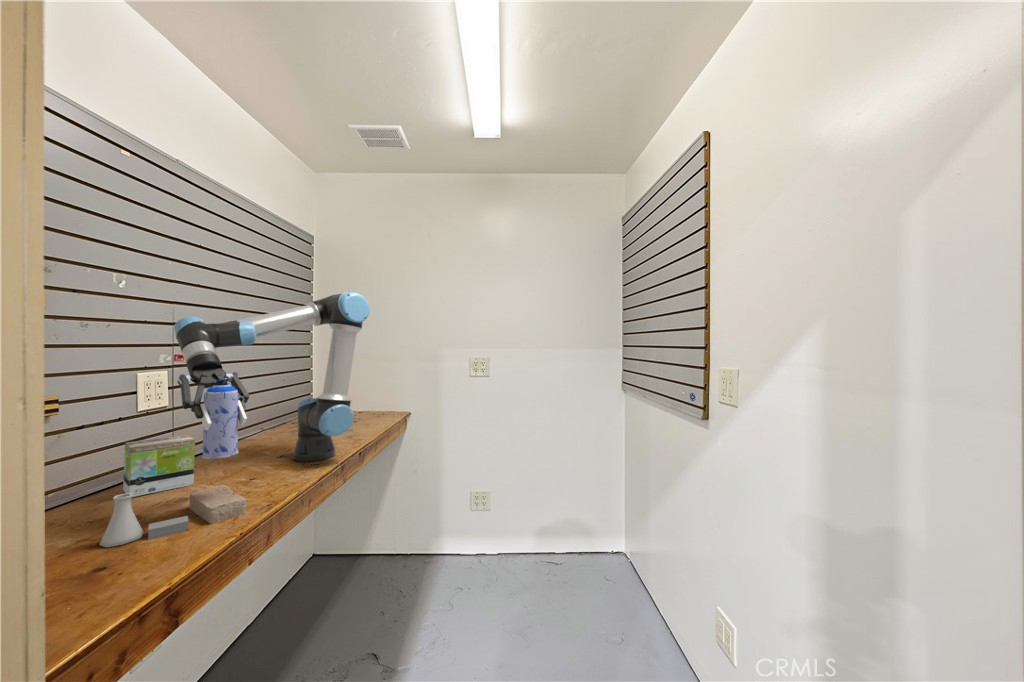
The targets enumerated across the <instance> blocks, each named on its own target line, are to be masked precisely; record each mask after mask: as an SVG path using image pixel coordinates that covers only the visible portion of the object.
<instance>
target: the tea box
mask: <svg viewBox="0 0 1024 682" xmlns="http://www.w3.org/2000/svg"><path fill="white" fill-rule="evenodd" d="M195 447H196V440H195V438H193V437H191V436H189V435H187V434H183V435H177V436H168V437H167V436H166V437H159V438H152V439H143V440H136V441H127V442H125V443H124V458H123V462H124V463H123V484H122V485H123V487H122V489H123V492H124V494H126V493H132V494H133V495H132V497H131V499H132V498H135V497H139V496H143V495H144V496H145V495H148V494H154V493H159V492H164V491H168V490H174V489H180V488H185V486H186V487H190V486H189V485H191V486H193V485H194V480H195V479H194V478H195V455H196V454H195V453H196V452H195V449H196V448H195Z"/></svg>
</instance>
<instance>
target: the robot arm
mask: <svg viewBox="0 0 1024 682" xmlns="http://www.w3.org/2000/svg"><path fill="white" fill-rule="evenodd" d="M370 311H371V309H370V304H369V302H368V300H367V299H366V298H365V296H364V295H362V294H360V293H358V292H353V291H352V292H350V291H347V292H343V293H337V294H331V295H329V296H327V297H323V298H321V299H318V300H313V301H309V302H308V303H307V304H306V305H302V306H297V307H293V308H288V309H283V310H279V311H274V312H268V313H264V314H260V315H255V316H249V317H244V318H240V319H235V320H231V321H226V322H220V323H213V322H212V323H211V322H210V323H209V322H208V323H206V322H205V321H204V320H203V319H202V318H201V317H198V316H194V315H193V316H185V317H182V318H180V319H178V321H176V323H175V324H174V327H173V328H174V329H173V330H174V333H175V338H176V341H177V343H178V345H179V348H180V351H181V353H182V354H181V355H182V356H183V360H184V363H185V365H186V369H187V371H188V374H189V375H185V374H184V373H183V374H180V375H179V377H178V378H177V381H176V382H177V384H178V385H179V387H180V394H181V404H182V409H184V410H187V409H190V411H191V412H193V413H194V416H195V418H196V419H197V420H198V419H200V421H201V423H202V426H203V427H204V429H205V430H208V429H209V427H210V425H211V420H210V417H209V415H208V412H207V409H206V406H205V404H204V403H202V398H203V396H204V392H205V391H204V390H205V389H208V388H210V387H212V386H213V385H216V381H217V380H227V381H228V382H229V383H228V382H227V384H228V385H230V384H231V385H230V386H233V387H235V389H236V390H238V423H239V424H240V426H243V425H245V424H246V421H247V419H248V417H247V414H246V411H247V406H246V404H247V403H248V401H249V399H250V397H251V395H250V394H249V392H248V391H247V389H246V388H245V386H244V385H243V383H242V382H241V380H240V378H239V373H238V372H237V371H233V372H232V373H227V372H226V371H225V370H224V369H223V365H222V362H221V360H220V358H219V356H218V355H219V354H218V353H217V351H216V348H231V347H238V346H239V347H240V346H242V347H244V346H251V345H253V344H255V342H256V340H257V338H261V337H265V336H270V335H274V334H278V333H282V332H287V331H290V330H295V329H299V328H302V327H303V328H304V327H307V326H311V325H313V326H316V327H318V326H322V325H328V324H329V325H328V326H329V327H330V328H331V329H332V330H331V331H332V332H331V338H330V346H329V351H328V358H327V363H326V371H325V377H324V383H323V388H322V390H323V391H322V393H321V394H320V395H318V396H317V398H315V397H313V398H306V399H301V400H299V401H298V405H297V406H298V407H297V440H296V443H295V446H294V449H293V451H292V460H293V459H294V460H293V461H295V460H297V461H296V462H315V461H317V462H318V461H321V460H326V459H329V458H332V457H334V456H336V447H335V443H334V442H333V439H332V437H339V436H341V435H344V434H345V433H347V431H349V430H350V428H352V426H353V423H354V420H355V413H354V412H353V410H352V408H351V402H352V399H351V398H350V396H349V395H348V394H349V386H350V380H351V373H352V367H353V360H354V353H355V347H356V339H357V334H358V333H359V332H360V331H362V328H363V322H364V321H366V319H368V318H369V315H370ZM190 382H192V383H194V384H196V385H197V388H196V391H195V392H196V393H195V395H194V399H193V400H192V395H191V389H190V387H191V386H190ZM203 427H202V428H203Z"/></svg>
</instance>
